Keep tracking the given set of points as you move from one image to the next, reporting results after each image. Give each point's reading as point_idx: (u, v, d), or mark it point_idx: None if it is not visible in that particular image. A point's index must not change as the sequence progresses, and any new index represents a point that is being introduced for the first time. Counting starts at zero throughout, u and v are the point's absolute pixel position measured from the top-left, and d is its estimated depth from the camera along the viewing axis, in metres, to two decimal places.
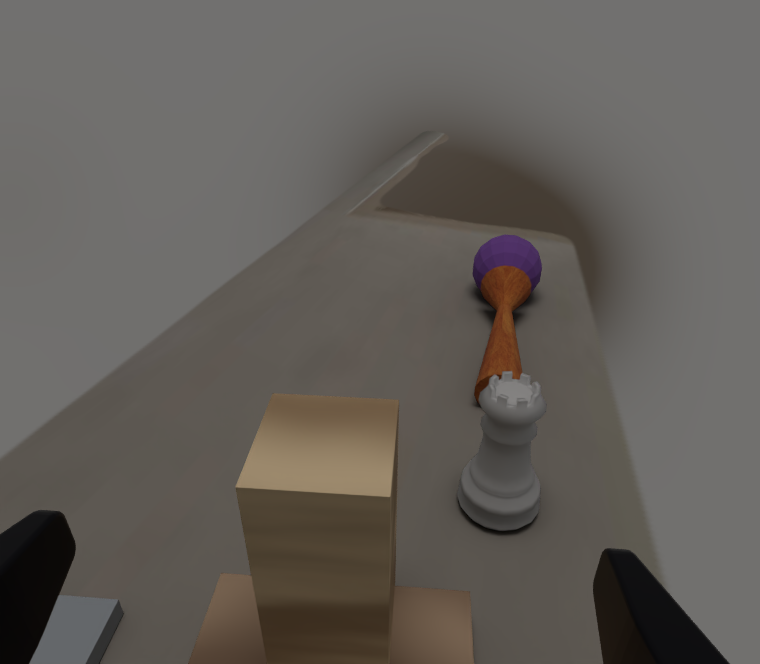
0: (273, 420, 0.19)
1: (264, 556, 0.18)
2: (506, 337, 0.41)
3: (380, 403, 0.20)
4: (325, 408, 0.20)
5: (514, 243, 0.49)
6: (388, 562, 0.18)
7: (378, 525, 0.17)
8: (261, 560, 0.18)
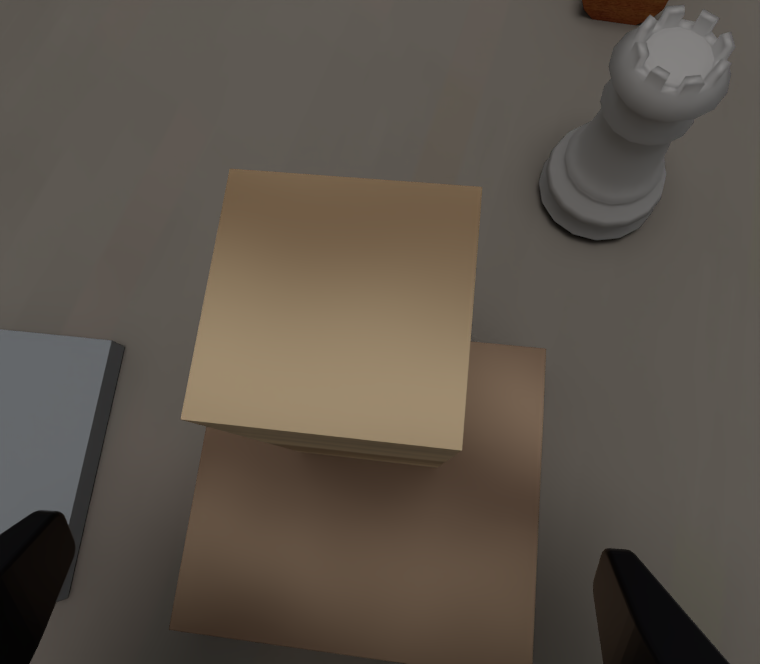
0: (236, 246, 0.10)
1: (262, 437, 0.12)
2: None
3: (443, 198, 0.10)
4: (334, 211, 0.10)
5: None
6: (449, 457, 0.12)
7: (437, 452, 0.10)
8: (258, 437, 0.12)
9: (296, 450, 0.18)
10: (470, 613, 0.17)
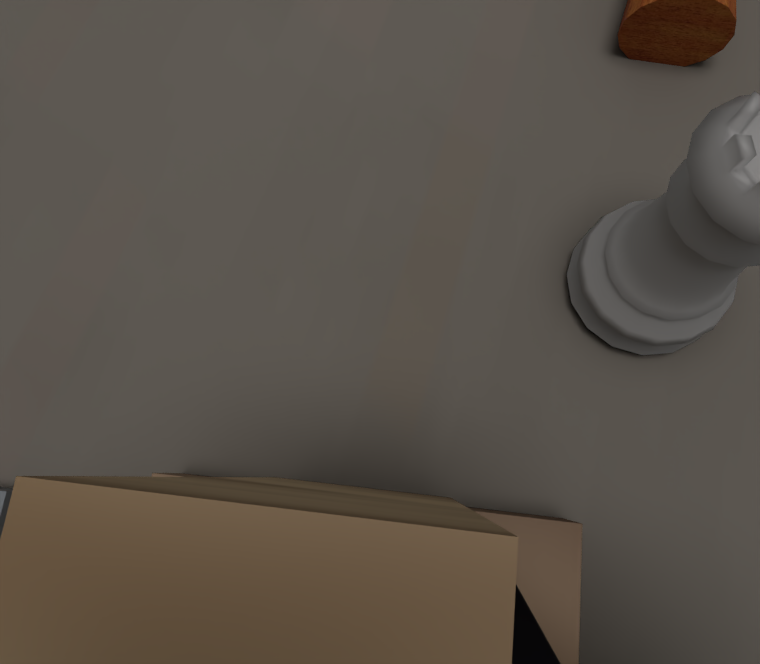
0: (13, 659, 0.05)
1: None
2: None
3: (439, 560, 0.05)
4: (216, 586, 0.05)
5: None
6: None
7: None
8: None
9: None
10: None
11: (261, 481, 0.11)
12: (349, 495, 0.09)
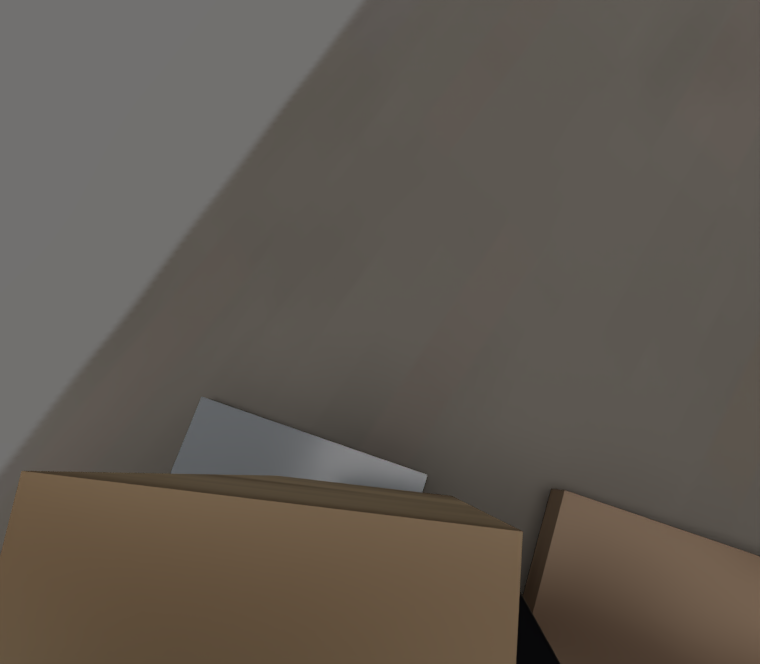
0: (19, 653, 0.05)
1: None
2: None
3: (442, 556, 0.05)
4: (220, 579, 0.05)
5: None
6: None
7: None
8: None
9: None
10: None
11: (263, 478, 0.11)
12: (351, 492, 0.09)
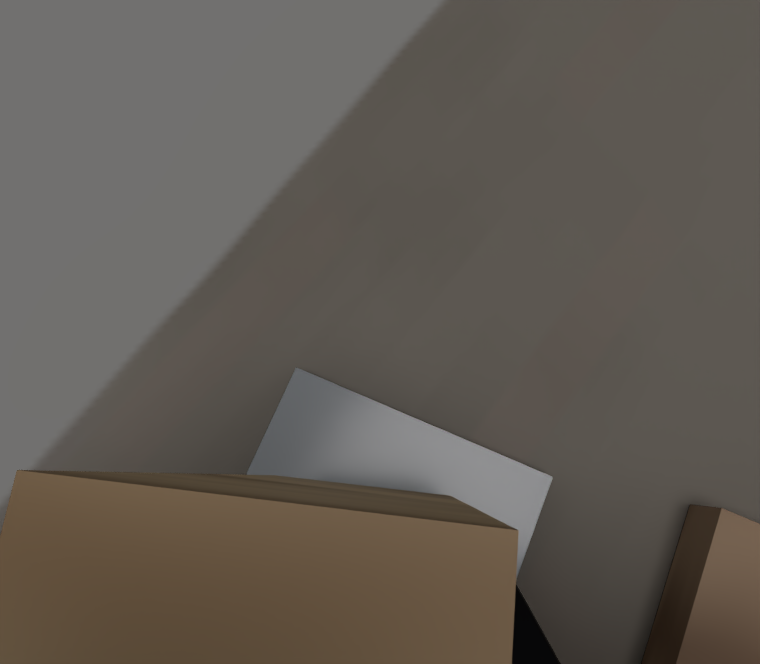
0: (14, 653, 0.05)
1: None
2: None
3: (439, 554, 0.05)
4: (216, 578, 0.05)
5: None
6: None
7: None
8: None
9: None
10: None
11: (261, 478, 0.11)
12: (349, 492, 0.09)
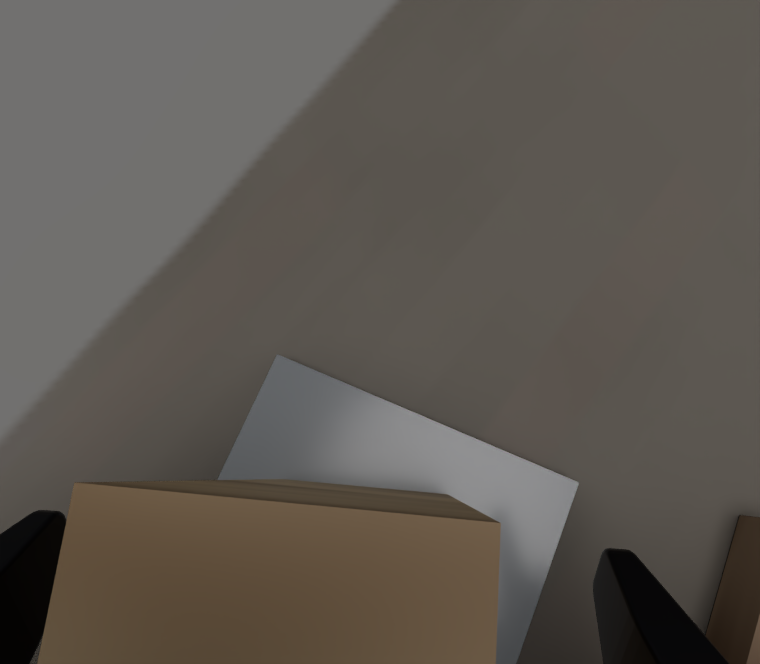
0: (79, 636, 0.06)
1: None
2: None
3: (434, 545, 0.06)
4: (248, 570, 0.06)
5: None
6: None
7: None
8: None
9: None
10: None
11: (272, 482, 0.12)
12: (354, 493, 0.10)
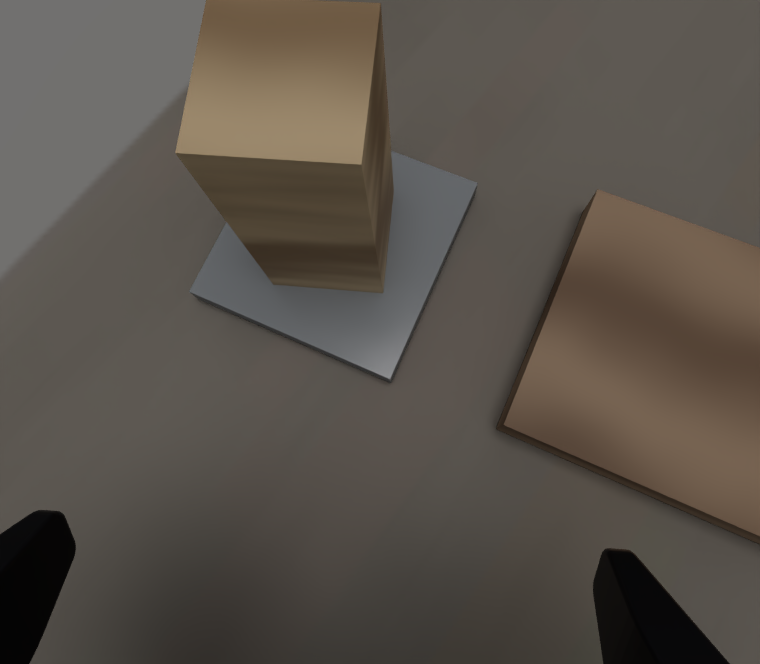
0: (211, 45, 0.15)
1: (235, 210, 0.17)
2: None
3: (354, 11, 0.15)
4: (279, 21, 0.15)
5: None
6: (369, 217, 0.16)
7: (352, 188, 0.15)
8: (232, 212, 0.17)
9: (269, 275, 0.23)
10: None
11: None
12: None
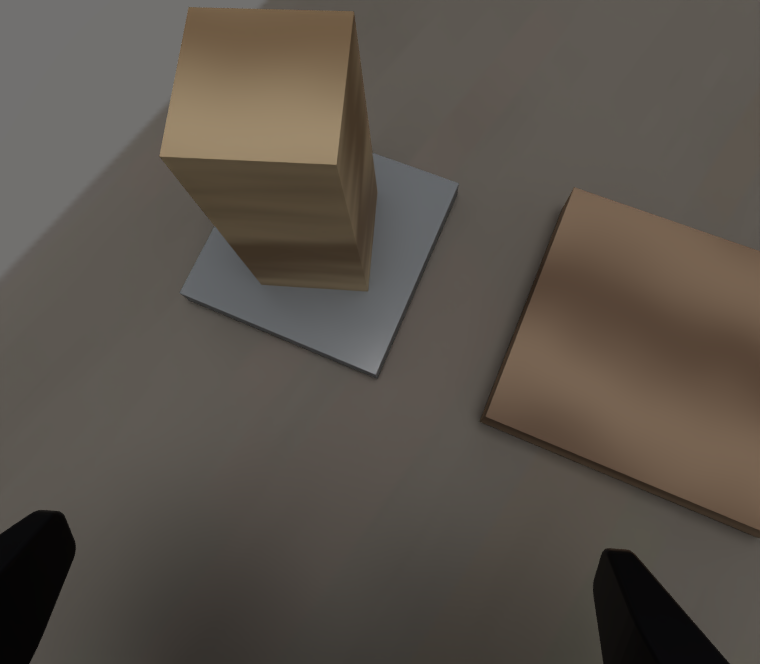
0: (193, 54, 0.15)
1: (219, 211, 0.17)
2: None
3: (328, 19, 0.15)
4: (257, 30, 0.15)
5: None
6: (348, 215, 0.17)
7: (330, 188, 0.15)
8: (217, 213, 0.18)
9: (257, 276, 0.23)
10: (746, 475, 0.20)
11: None
12: None
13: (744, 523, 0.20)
